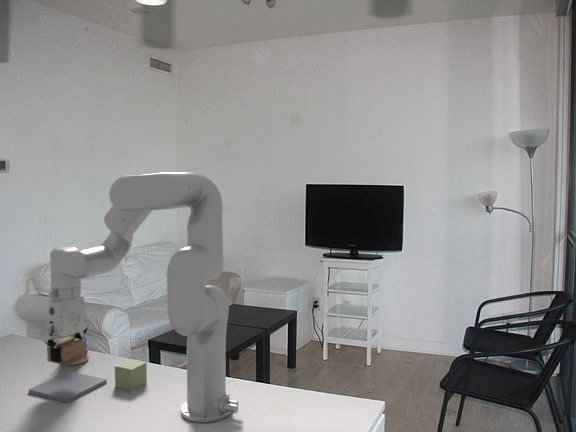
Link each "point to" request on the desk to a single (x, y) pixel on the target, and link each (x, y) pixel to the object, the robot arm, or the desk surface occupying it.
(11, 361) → the desk surface
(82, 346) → the walnut block
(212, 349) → the robot arm
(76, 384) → the baseplate
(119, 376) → the olive block
